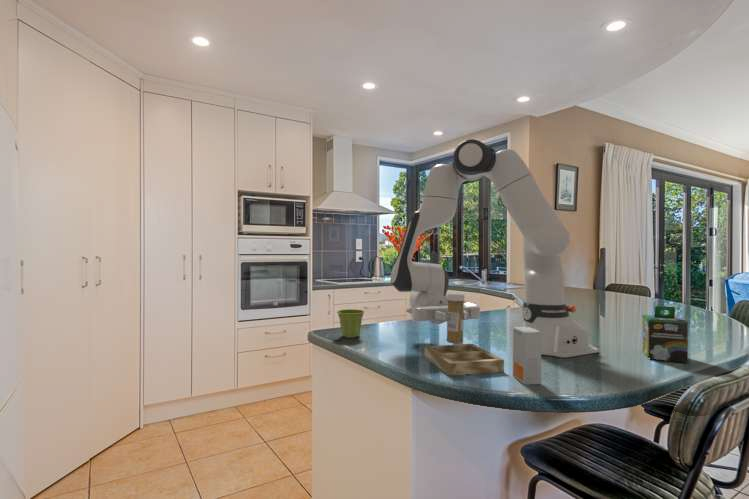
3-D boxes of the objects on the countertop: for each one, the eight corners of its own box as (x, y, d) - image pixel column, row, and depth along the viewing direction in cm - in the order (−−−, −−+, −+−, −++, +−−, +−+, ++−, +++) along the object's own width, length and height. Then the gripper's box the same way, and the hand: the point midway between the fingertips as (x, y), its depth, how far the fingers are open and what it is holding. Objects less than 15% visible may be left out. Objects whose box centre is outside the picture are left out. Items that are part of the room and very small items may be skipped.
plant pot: (336, 333, 140) (336, 309, 139) (363, 333, 141) (363, 308, 140) (337, 339, 130) (337, 313, 130) (365, 339, 131) (365, 313, 131)
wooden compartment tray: (471, 353, 114) (472, 343, 114) (503, 371, 98) (504, 359, 98) (424, 357, 110) (424, 346, 110) (449, 376, 94) (449, 363, 94)
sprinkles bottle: (466, 342, 107) (467, 293, 107) (454, 344, 105) (455, 294, 104) (454, 339, 111) (455, 291, 111) (442, 341, 108) (443, 292, 108)
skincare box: (512, 376, 94) (512, 326, 94) (529, 375, 95) (529, 326, 95) (523, 385, 88) (524, 332, 88) (541, 384, 89) (542, 331, 89)
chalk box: (679, 355, 114) (679, 304, 113) (688, 364, 105) (689, 309, 105) (641, 352, 117) (641, 302, 117) (647, 359, 109) (648, 306, 109)
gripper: (404, 299, 118) (420, 306, 104) (466, 297, 123) (490, 304, 109) (404, 320, 118) (420, 329, 104) (466, 318, 123) (489, 327, 109)
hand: (456, 317), depth 107 cm, fingers closed on sprinkles bottle, 4 cm apart
